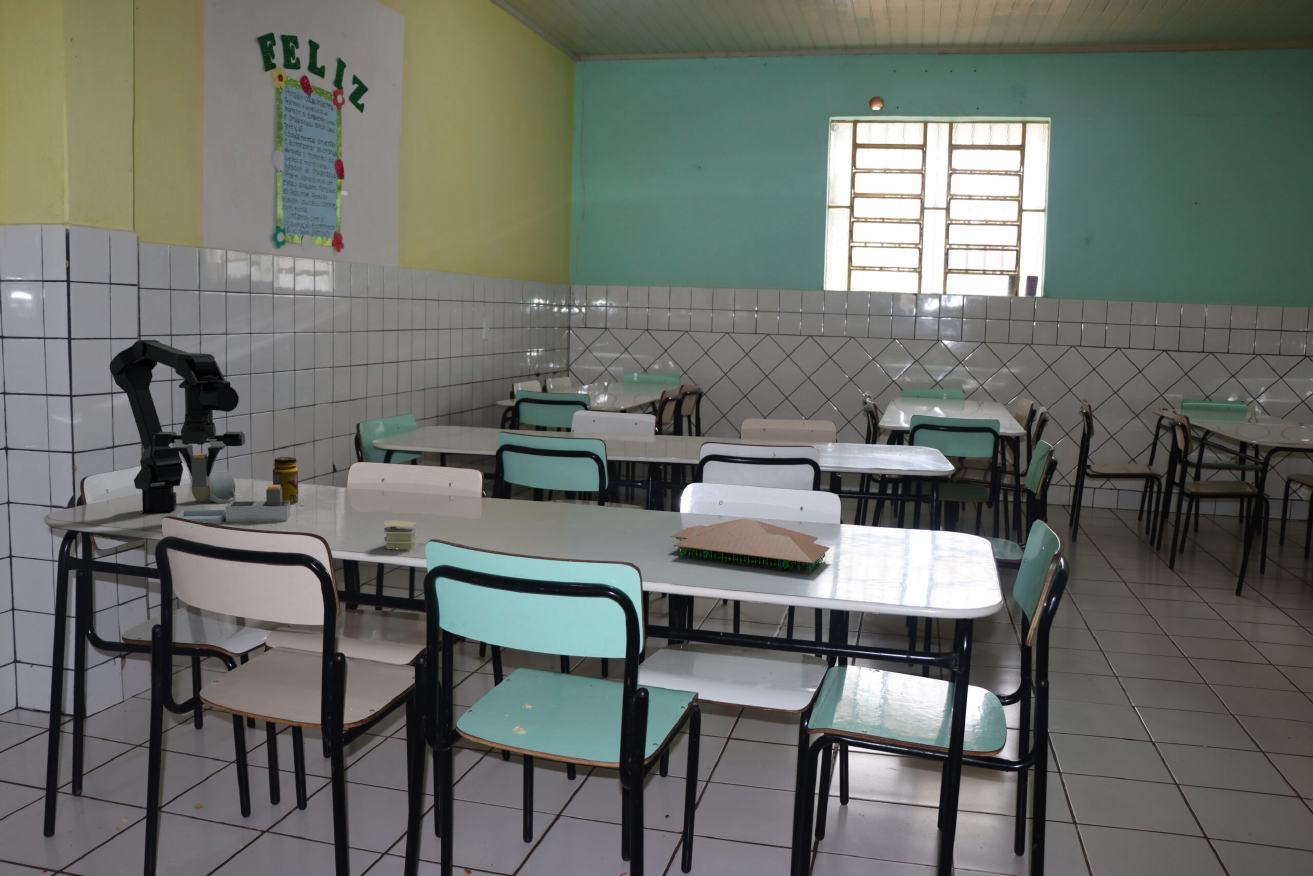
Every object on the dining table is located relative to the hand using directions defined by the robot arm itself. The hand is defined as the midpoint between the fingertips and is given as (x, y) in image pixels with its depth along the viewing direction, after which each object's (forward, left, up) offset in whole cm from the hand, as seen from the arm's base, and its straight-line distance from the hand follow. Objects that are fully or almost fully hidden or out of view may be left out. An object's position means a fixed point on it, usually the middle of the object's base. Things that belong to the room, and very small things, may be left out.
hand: (200, 476), depth 227 cm
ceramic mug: (-1, +24, -11) cm, 27 cm away
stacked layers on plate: (+44, -30, -11) cm, 55 cm away
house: (+119, -45, -11) cm, 128 cm away
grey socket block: (+12, 0, -11) cm, 16 cm away
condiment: (+15, +19, -11) cm, 27 cm away
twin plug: (+16, 0, -11) cm, 19 cm away
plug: (0, 0, -2) cm, 2 cm away
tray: (0, 0, -11) cm, 11 cm away
